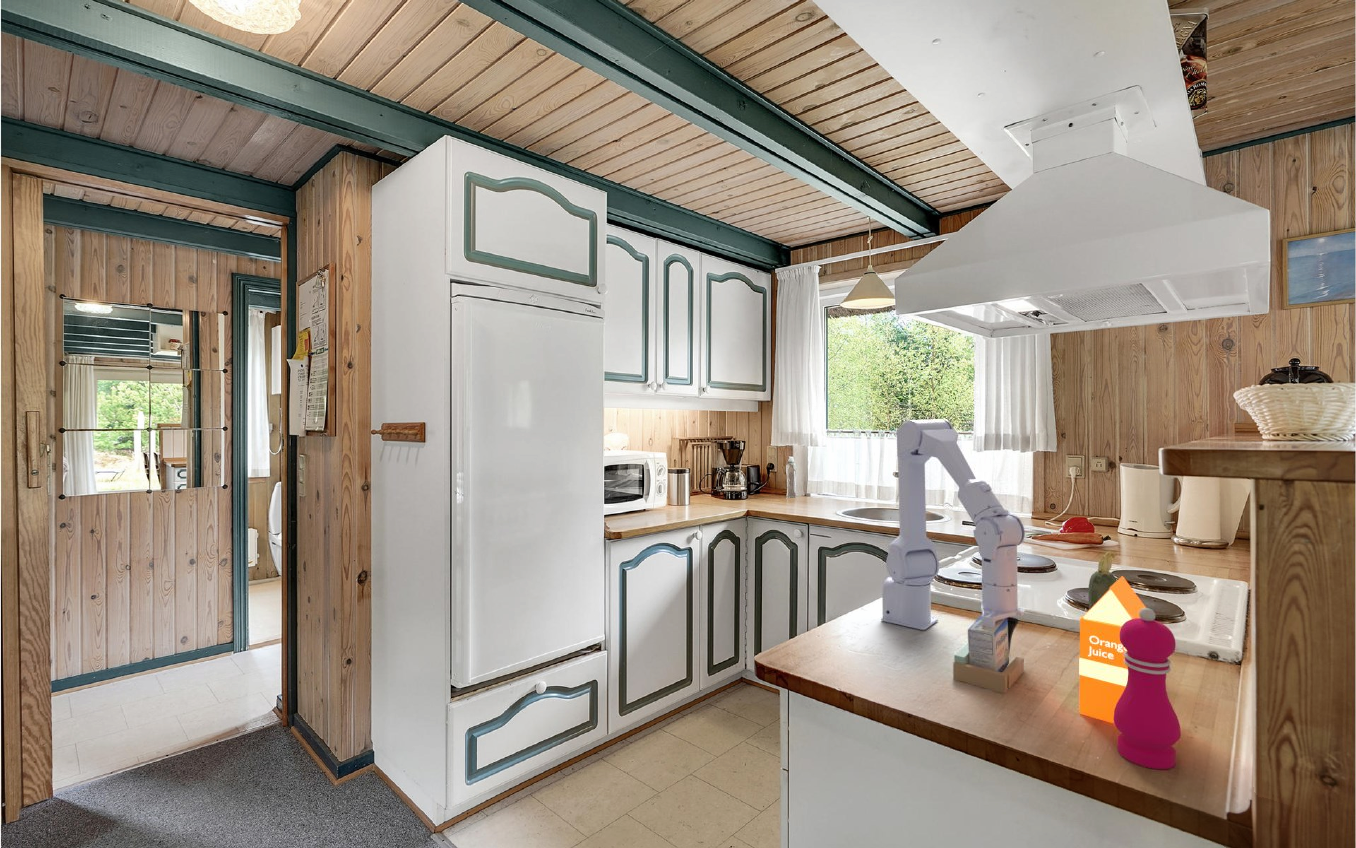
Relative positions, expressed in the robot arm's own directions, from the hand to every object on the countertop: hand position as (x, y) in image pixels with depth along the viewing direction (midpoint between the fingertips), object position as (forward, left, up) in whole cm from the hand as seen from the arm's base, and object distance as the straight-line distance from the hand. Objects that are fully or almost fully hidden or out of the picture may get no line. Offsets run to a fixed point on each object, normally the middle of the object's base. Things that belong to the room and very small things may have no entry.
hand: (1000, 657), depth 115 cm
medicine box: (0, -5, -1) cm, 5 cm away
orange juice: (+18, -7, -2) cm, 20 cm away
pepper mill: (+23, -19, -2) cm, 30 cm away
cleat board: (0, -1, -1) cm, 2 cm away
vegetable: (+13, +15, -2) cm, 20 cm away
